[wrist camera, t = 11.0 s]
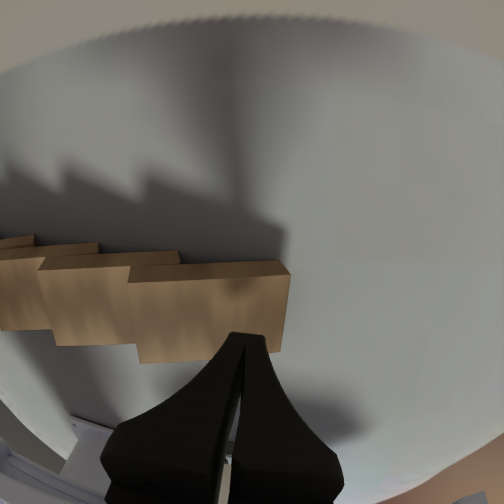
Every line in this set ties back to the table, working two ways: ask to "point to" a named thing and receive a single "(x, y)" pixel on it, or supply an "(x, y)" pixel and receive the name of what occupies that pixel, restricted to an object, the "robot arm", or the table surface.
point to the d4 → (18, 242)
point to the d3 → (29, 284)
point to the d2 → (93, 295)
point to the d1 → (205, 307)
